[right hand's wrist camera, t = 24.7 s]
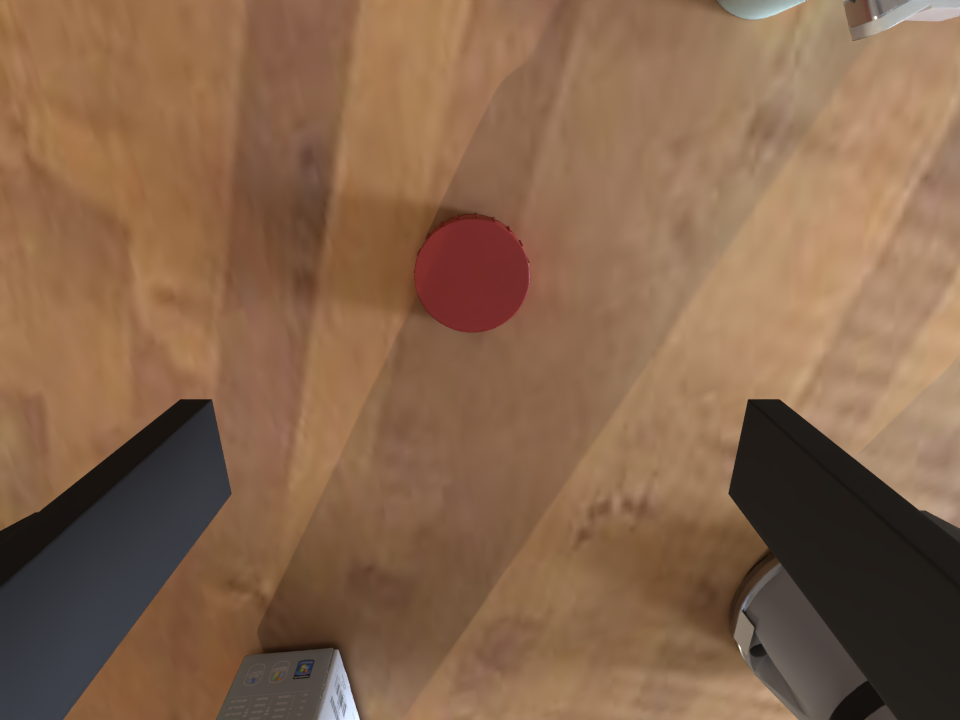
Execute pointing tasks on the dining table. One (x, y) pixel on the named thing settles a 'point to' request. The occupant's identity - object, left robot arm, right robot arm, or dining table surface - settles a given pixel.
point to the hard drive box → (290, 688)
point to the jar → (757, 7)
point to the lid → (472, 273)
